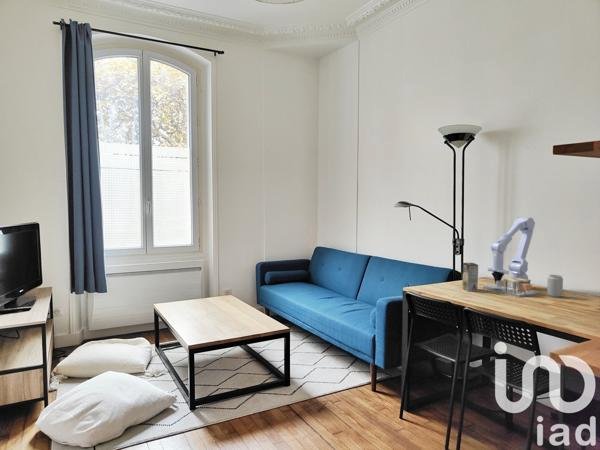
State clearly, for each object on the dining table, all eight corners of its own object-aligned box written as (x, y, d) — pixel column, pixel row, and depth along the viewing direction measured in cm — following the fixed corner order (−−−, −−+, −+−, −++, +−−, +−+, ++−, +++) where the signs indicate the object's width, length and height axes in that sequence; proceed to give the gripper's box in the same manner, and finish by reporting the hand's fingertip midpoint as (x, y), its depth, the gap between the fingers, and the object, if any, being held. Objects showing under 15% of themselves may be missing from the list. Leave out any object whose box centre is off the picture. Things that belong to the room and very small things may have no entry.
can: (561, 295, 243) (562, 274, 242) (563, 298, 236) (564, 276, 235) (546, 294, 246) (547, 273, 245) (547, 297, 239) (548, 275, 239)
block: (524, 290, 246) (524, 283, 245) (531, 292, 242) (531, 284, 241) (518, 291, 244) (519, 283, 244) (525, 292, 240) (525, 284, 240)
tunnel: (519, 289, 254) (520, 277, 253) (530, 291, 247) (530, 279, 247) (503, 291, 249) (504, 279, 249) (513, 293, 242) (514, 281, 242)
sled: (502, 286, 261) (502, 280, 261) (533, 293, 241) (533, 286, 241) (496, 287, 259) (496, 280, 259) (526, 294, 239) (526, 287, 239)
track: (500, 286, 268) (500, 283, 268) (537, 295, 243) (537, 291, 243) (482, 288, 263) (482, 284, 263) (519, 297, 238) (519, 292, 238)
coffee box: (461, 288, 263) (462, 262, 262) (472, 288, 263) (472, 262, 262) (467, 291, 254) (467, 264, 253) (478, 291, 254) (478, 264, 253)
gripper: (484, 261, 266) (483, 282, 267) (502, 264, 252) (501, 286, 253) (492, 260, 269) (492, 282, 269) (511, 263, 255) (511, 286, 256)
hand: (497, 284), depth 261 cm, fingers closed
